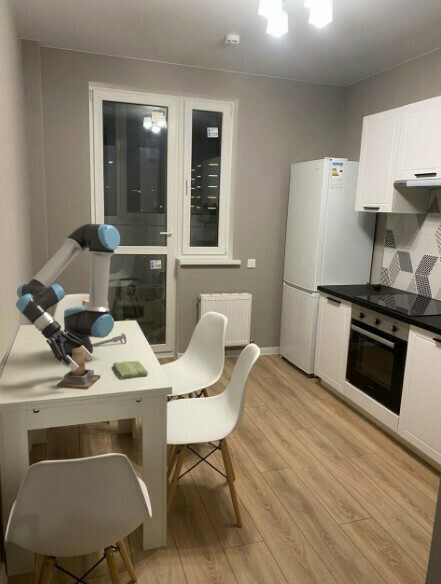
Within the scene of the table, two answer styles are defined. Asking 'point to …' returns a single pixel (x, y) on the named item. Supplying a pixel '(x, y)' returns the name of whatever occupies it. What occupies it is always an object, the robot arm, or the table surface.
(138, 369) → the washcloth
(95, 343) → the caliper
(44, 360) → the table surface
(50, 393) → the table surface
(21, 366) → the table surface
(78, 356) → the oak pin
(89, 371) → the socket board
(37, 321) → the robot arm
